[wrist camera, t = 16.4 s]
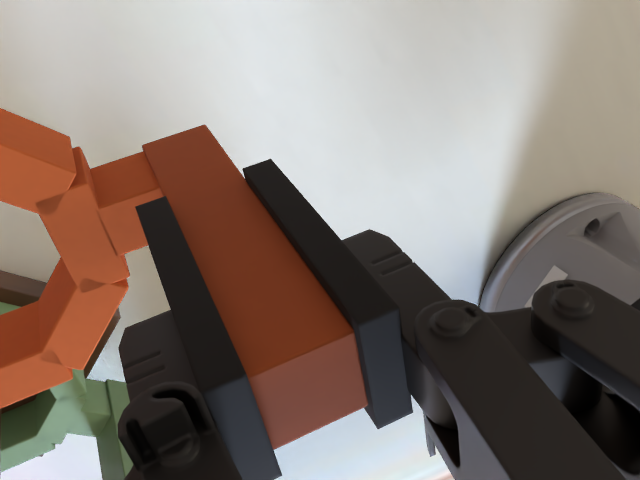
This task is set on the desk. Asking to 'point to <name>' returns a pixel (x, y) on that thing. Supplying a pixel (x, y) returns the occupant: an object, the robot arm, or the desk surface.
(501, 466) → the robot arm
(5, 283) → the peg stand
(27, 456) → the sage ring
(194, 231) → the rust ring
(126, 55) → the desk surface
